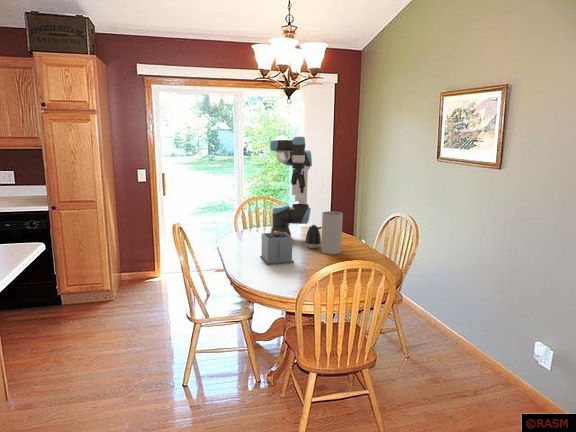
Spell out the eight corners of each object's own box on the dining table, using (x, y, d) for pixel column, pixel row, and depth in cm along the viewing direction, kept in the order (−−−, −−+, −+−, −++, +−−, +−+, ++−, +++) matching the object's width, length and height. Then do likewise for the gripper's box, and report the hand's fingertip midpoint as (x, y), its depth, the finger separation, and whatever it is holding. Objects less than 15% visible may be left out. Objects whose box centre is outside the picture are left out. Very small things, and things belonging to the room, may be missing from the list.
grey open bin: (259, 257, 247) (260, 233, 244) (285, 255, 252) (285, 231, 249) (267, 266, 230) (267, 240, 227) (294, 263, 235) (295, 238, 232)
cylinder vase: (320, 249, 266) (321, 211, 261) (340, 249, 266) (341, 211, 261) (321, 254, 254) (322, 214, 249) (341, 255, 254) (343, 215, 249)
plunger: (264, 251, 245) (264, 230, 242) (283, 250, 248) (283, 229, 246) (269, 257, 234) (269, 234, 231) (289, 255, 237) (289, 233, 235)
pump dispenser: (320, 250, 264) (320, 227, 261) (304, 249, 266) (304, 226, 263) (322, 246, 274) (322, 223, 271) (306, 245, 276) (307, 222, 273)
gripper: (286, 160, 262) (285, 193, 266) (299, 163, 239) (298, 199, 243) (297, 160, 264) (296, 193, 268) (311, 163, 241) (310, 199, 245)
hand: (297, 196), depth 255 cm, fingers open, 13 cm apart
